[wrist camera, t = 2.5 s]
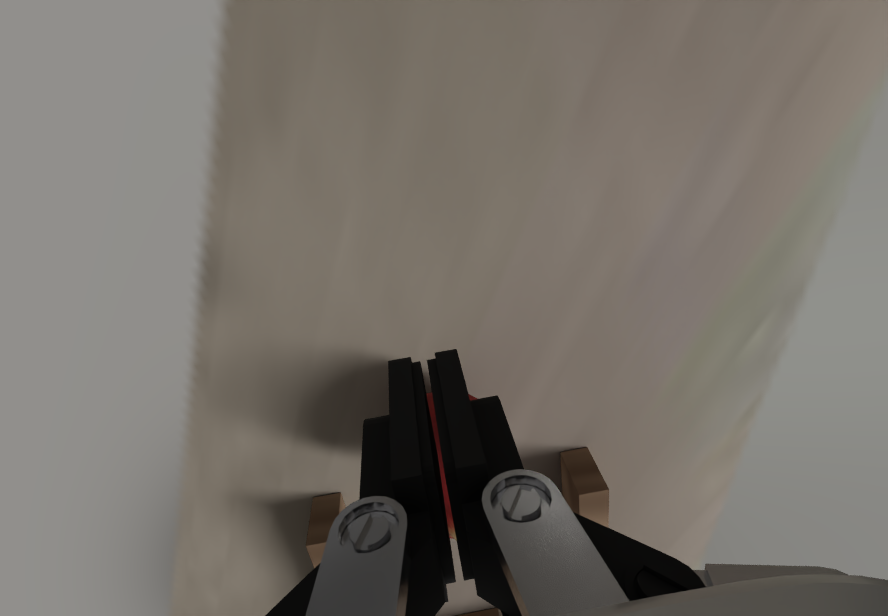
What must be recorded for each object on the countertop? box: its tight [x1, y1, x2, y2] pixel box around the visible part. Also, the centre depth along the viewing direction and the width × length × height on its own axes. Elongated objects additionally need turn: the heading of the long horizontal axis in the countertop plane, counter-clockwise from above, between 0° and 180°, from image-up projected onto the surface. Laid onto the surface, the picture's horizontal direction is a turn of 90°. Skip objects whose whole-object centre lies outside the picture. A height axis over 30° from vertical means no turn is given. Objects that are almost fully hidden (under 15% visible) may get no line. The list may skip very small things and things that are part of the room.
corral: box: [306, 447, 609, 616], centre depth 30 cm, size 14×15×3 cm
